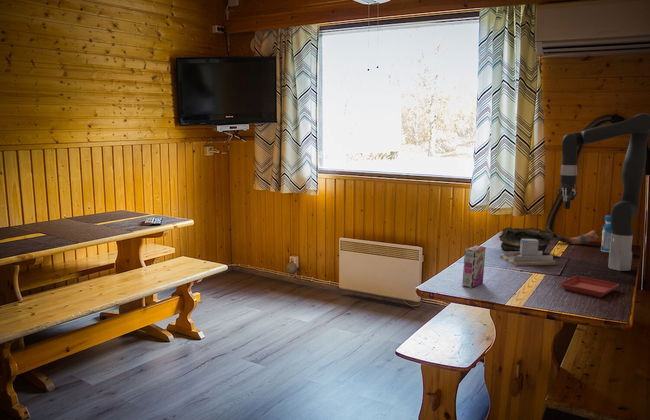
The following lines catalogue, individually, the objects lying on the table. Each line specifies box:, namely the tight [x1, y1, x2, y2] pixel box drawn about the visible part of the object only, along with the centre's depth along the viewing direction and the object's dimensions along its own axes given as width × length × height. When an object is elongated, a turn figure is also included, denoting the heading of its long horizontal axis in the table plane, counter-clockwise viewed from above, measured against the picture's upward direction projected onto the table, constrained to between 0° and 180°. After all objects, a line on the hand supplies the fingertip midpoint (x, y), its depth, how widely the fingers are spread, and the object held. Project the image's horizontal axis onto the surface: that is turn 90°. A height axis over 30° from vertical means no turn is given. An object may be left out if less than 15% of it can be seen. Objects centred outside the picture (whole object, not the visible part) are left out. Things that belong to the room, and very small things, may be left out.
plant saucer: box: [560, 275, 620, 298], centre depth 237 cm, size 18×18×3 cm
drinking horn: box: [545, 225, 599, 245], centre depth 327 cm, size 5×29×10 cm, turn 78°
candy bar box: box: [461, 245, 486, 289], centre depth 240 cm, size 11×5×16 cm, turn 141°
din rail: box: [503, 250, 554, 261], centre depth 284 cm, size 11×21×2 cm, turn 99°
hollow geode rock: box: [498, 226, 554, 254], centre depth 306 cm, size 28×13×15 cm
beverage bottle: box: [600, 214, 612, 253], centre depth 309 cm, size 8×8×20 cm
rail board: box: [499, 254, 557, 267], centre depth 284 cm, size 16×22×2 cm
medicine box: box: [519, 239, 539, 256], centre depth 283 cm, size 8×4×9 cm, turn 85°
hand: (566, 208), depth 279 cm, fingers closed
